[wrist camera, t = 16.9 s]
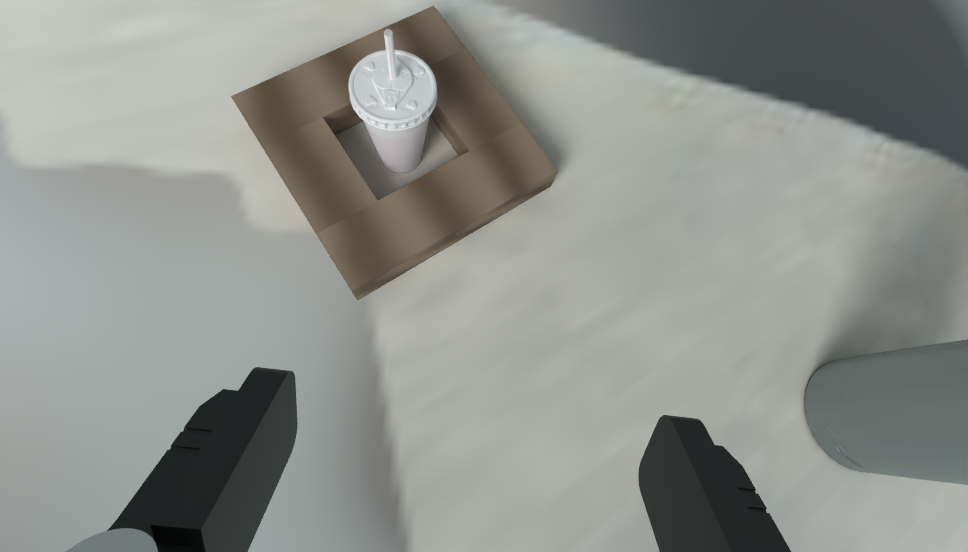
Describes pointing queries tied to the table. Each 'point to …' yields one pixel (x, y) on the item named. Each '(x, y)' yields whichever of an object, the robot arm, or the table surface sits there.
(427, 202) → the caddy
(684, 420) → the robot arm
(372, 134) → the smoothie
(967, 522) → the table surface
